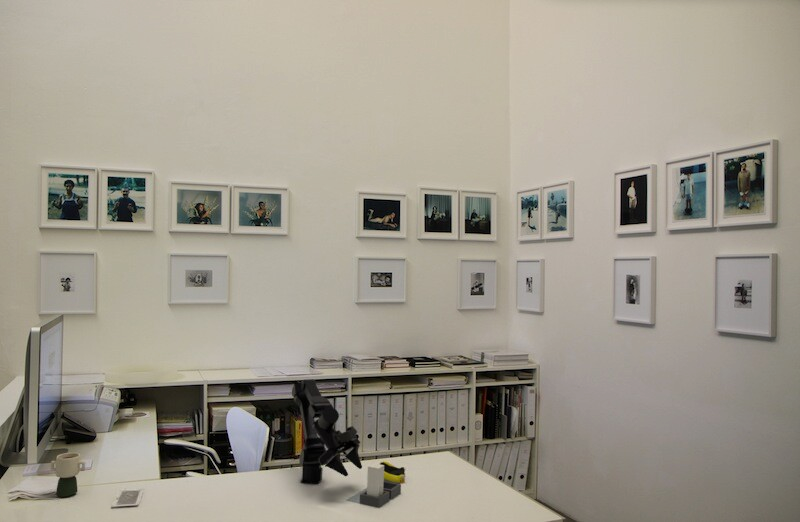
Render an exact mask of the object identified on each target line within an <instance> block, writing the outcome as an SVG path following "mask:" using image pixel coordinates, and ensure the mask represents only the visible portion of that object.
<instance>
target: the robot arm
mask: <svg viewBox="0 0 800 522" xmlns="http://www.w3.org/2000/svg"><path fill="white" fill-rule="evenodd" d="M291 395H292V397H293V402H294V403H295V404H296V405H297V406H298V407H299V410H300V417H301V422H302V430H303V434H304V443H303V446H302V449H301V451H300V454H299V455H298V456H299V459H298V460H299V465H301V467H302V471H301V472H302V473H301V474H302V475H301V477H302V478H301V480H300V484H301V483H302V484H311V485H312V484H313V485H318V484H319V483H320V481H322V479H323V466H324V467H327V468H329V469H331V470H333V471H335V472H337V473H339V474H340V475H342V476H344V477H347V476H349V473H348V471H347V469H346V467H345V466H344V464H343V462H342V460H341V454H343V455H345V456H344V457H345V459H347V460H348V461H350V462H351V464H353V465H354V466H355V467H356V468H357V469H359V470H361V469H362V468H363V465H362V462H361V458H360V455H359V452H358V451H359V448H360V444H361V441H360V440H359V438H357V434H358V430H357V429H356V428H355V427H354V426H353V425H352V426H348V427H346V430H345V431H344V432H341V430H336V429H335V427H334V426H335V425H336V424H337V422H338V420H339V417H340V414H339V412H338V410H337V409H336V408H334V406H333V404H332V403H331V402H330V400H329V399H328V398H327V397H324V396H322V394H321V392H320V389H319V388H318V386H317V381H316V379H313V378H312V379H302V380H301V381H300V382H298V383H296V384H294V385H293V387H292V388H291ZM315 419H317V420H315ZM325 446H326V447H325ZM326 448H327V449H326Z"/></svg>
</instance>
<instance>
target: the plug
mask: <svg viewBox="0 0 800 522" xmlns="http://www.w3.org/2000/svg"><path fill="white" fill-rule="evenodd" d="M366 477H367V479H366V480H367V483H366V484H367V485H366V488H367V495H370V496H374V497H380V496H381V495H383V485H384V465H380V463H375V462H373V463H372V464H369V465H368V466H367V476H366Z"/></svg>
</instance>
